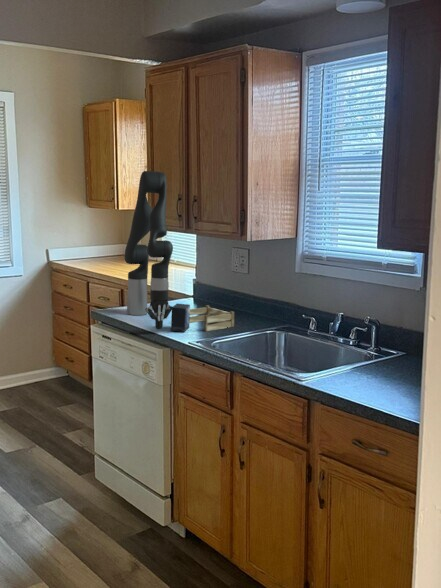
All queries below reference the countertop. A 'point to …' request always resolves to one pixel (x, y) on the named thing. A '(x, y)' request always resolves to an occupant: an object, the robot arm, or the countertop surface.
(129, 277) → the robot arm
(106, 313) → the countertop surface
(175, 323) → the small box
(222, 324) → the pine crate
